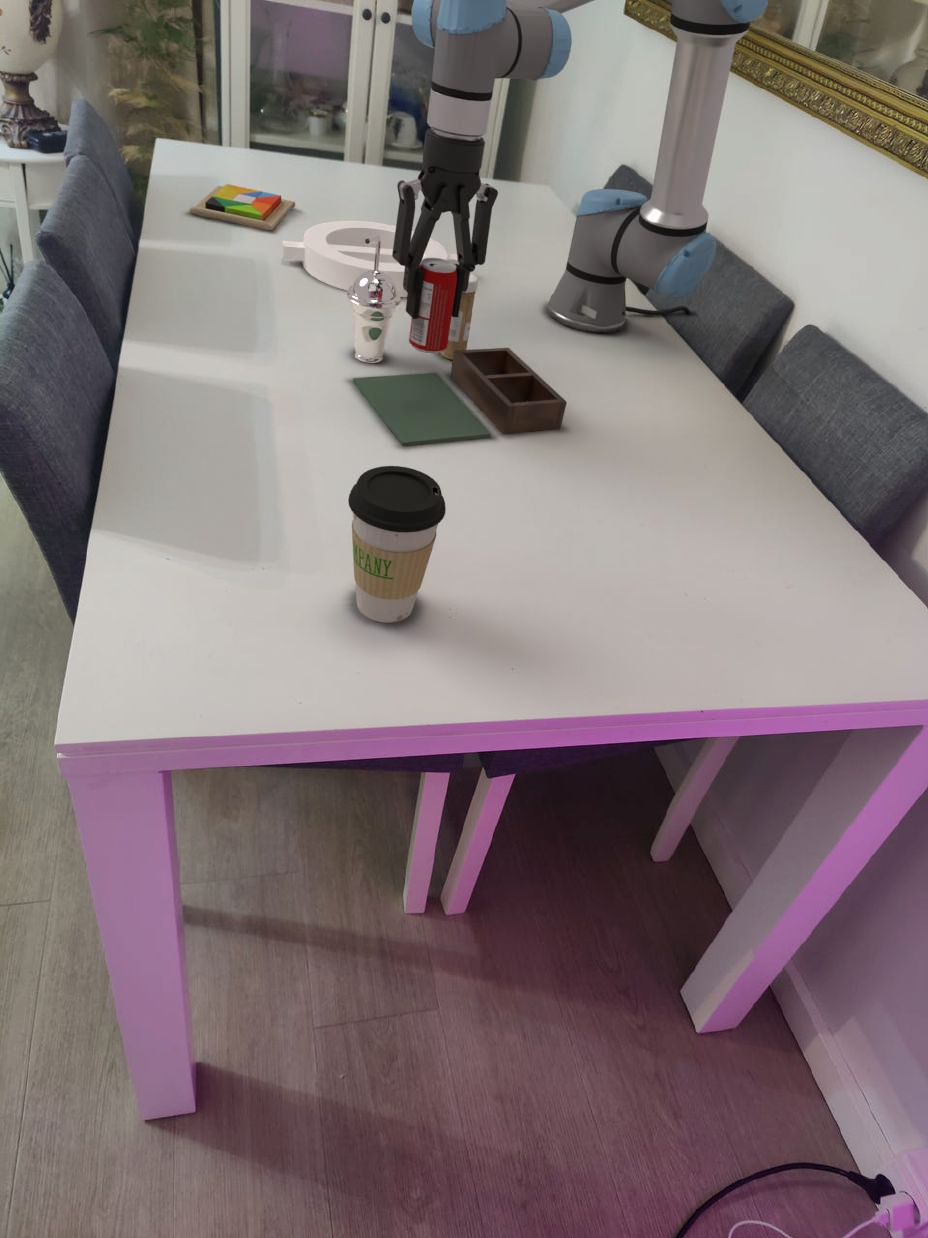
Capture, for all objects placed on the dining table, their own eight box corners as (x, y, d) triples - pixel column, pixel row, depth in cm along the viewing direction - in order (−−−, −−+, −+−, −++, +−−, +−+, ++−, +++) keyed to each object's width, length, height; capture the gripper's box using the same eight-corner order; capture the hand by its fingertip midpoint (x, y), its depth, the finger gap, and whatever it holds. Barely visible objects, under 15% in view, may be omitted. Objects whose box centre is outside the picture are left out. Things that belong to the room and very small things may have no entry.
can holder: (503, 373, 150) (508, 347, 148) (560, 428, 138) (567, 401, 135) (449, 376, 146) (453, 350, 143) (503, 434, 134) (509, 406, 131)
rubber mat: (434, 376, 146) (435, 372, 145) (490, 437, 132) (490, 433, 132) (352, 381, 140) (353, 377, 139) (402, 446, 127) (403, 442, 126)
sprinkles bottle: (471, 359, 153) (484, 280, 144) (448, 362, 150) (460, 281, 142) (456, 348, 155) (468, 269, 147) (434, 350, 153) (445, 271, 145)
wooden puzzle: (187, 216, 186) (186, 198, 184) (220, 193, 201) (220, 176, 198) (269, 233, 186) (269, 215, 183) (296, 209, 200) (297, 192, 198)
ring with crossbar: (470, 276, 184) (474, 252, 181) (390, 308, 164) (393, 282, 161) (360, 235, 193) (362, 212, 190) (272, 261, 173) (272, 236, 170)
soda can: (451, 345, 131) (464, 261, 124) (439, 358, 127) (451, 272, 120) (416, 335, 132) (427, 251, 125) (402, 347, 128) (412, 262, 121)
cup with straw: (405, 361, 148) (420, 235, 136) (364, 373, 142) (376, 243, 130) (370, 341, 152) (381, 217, 139) (329, 352, 146) (337, 224, 134)
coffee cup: (340, 574, 102) (349, 458, 93) (426, 579, 104) (444, 466, 94) (339, 631, 95) (349, 511, 85) (432, 636, 96) (452, 519, 87)
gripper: (507, 128, 119) (478, 301, 133) (375, 119, 111) (360, 305, 125) (534, 144, 114) (501, 322, 128) (399, 136, 106) (380, 327, 120)
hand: (432, 313), depth 127 cm, fingers closed on soda can, 5 cm apart
